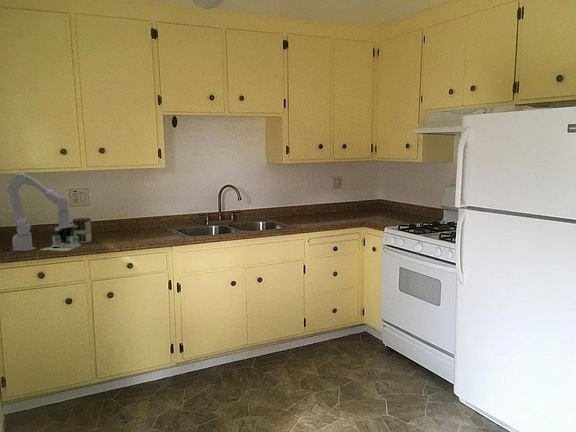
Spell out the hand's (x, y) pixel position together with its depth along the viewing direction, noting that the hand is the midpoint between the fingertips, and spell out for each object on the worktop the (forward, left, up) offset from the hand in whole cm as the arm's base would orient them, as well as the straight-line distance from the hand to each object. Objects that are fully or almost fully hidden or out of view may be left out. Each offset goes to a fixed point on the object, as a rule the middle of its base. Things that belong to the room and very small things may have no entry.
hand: (65, 240), depth 270 cm
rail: (0, 0, +2) cm, 2 cm away
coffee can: (+1, +17, -4) cm, 17 cm away
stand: (0, 0, -3) cm, 3 cm away
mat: (0, -8, -3) cm, 9 cm away
